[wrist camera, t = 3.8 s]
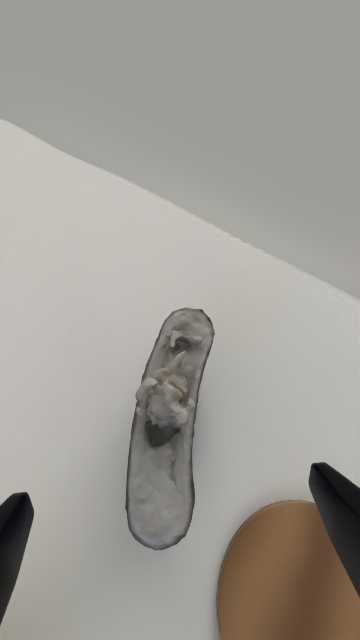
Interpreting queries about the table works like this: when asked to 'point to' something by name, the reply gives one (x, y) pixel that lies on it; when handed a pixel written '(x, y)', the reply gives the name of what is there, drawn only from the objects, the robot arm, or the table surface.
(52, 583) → the table surface
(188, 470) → the flask
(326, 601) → the wooden coaster
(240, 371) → the table surface
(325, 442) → the table surface
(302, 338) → the table surface
